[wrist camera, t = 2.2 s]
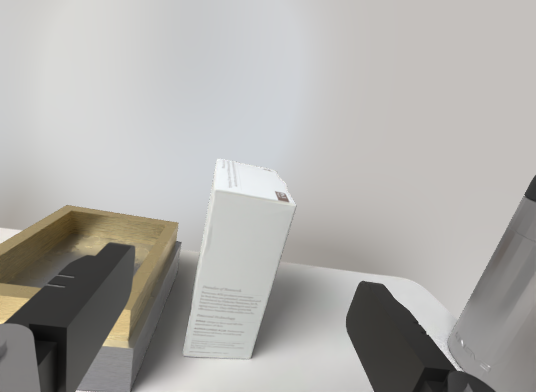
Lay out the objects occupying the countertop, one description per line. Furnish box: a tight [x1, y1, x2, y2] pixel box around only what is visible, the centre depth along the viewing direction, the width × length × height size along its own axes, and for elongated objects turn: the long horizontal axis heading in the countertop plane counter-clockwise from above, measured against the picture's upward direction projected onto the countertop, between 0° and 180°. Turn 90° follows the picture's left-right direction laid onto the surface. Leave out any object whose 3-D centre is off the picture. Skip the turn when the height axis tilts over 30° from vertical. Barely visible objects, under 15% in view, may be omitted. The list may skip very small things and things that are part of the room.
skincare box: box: [182, 159, 297, 359], centre depth 24 cm, size 8×6×15 cm
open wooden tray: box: [0, 205, 181, 392], centre depth 23 cm, size 15×14×6 cm
